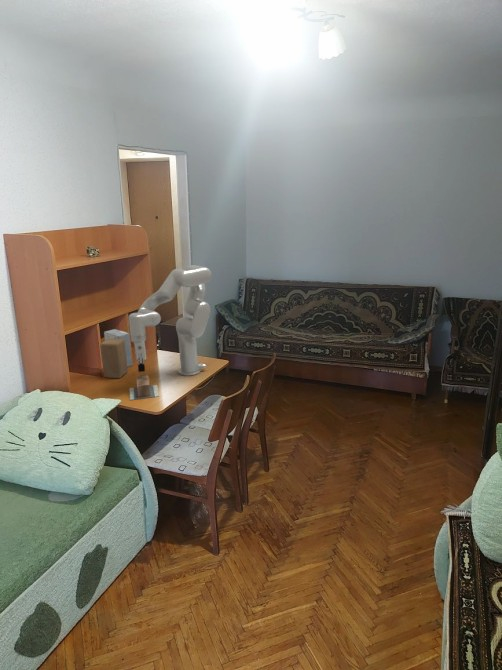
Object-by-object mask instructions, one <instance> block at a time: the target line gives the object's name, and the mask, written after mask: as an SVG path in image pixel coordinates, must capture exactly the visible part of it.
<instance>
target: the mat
mask: <svg viewBox="0 0 502 670" xmlns="http://www.w3.org/2000/svg"><path fill="white" fill-rule="evenodd" d="M150 394H151V396H147V397H139V398H138V390H137V386H136V387H130V388H129V401H133V400H136V401H137V400H142V399H150V398H158V397H160V395H159V387H158V385H157V384H153V385H150Z"/></svg>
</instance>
